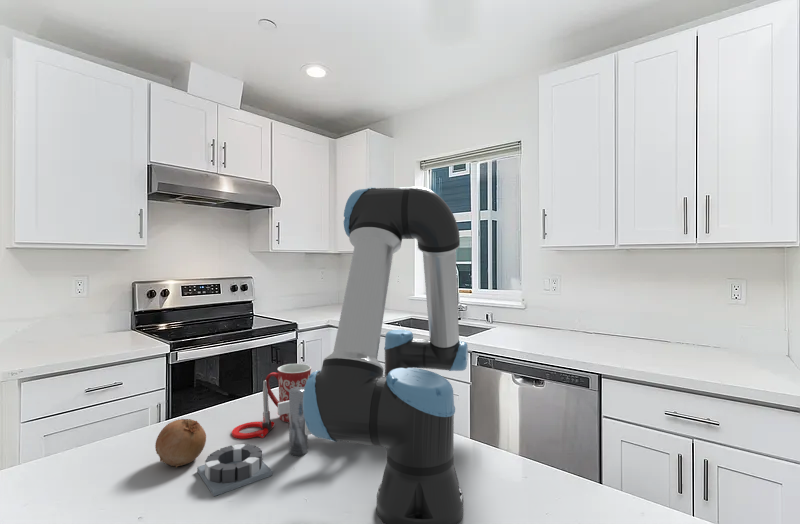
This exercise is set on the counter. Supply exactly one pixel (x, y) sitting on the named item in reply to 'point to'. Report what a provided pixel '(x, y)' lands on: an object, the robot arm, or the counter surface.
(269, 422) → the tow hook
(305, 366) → the mug
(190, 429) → the onion
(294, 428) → the steel rod
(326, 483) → the counter surface
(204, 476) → the chuck
